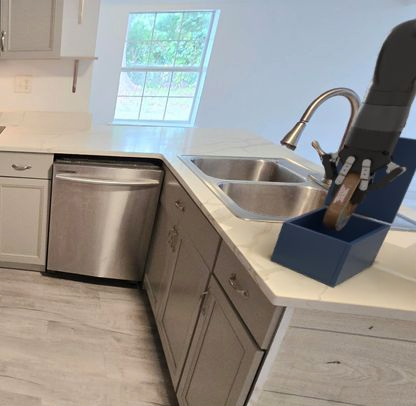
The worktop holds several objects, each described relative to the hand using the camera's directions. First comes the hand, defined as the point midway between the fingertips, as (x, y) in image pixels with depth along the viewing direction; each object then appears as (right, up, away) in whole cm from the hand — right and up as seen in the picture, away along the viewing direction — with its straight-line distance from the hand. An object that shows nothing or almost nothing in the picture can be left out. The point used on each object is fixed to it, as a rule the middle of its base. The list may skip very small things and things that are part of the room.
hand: (345, 201), depth 83 cm
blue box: (+1, -15, +7) cm, 17 cm away
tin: (+4, 0, +3) cm, 5 cm away
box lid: (+7, +6, +1) cm, 9 cm away
